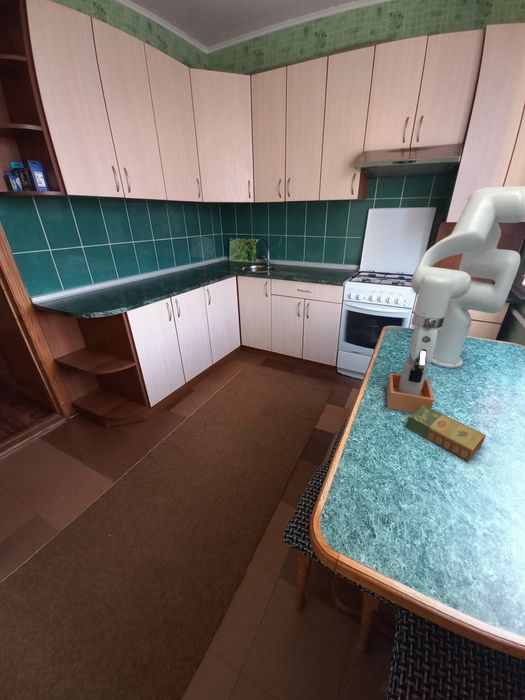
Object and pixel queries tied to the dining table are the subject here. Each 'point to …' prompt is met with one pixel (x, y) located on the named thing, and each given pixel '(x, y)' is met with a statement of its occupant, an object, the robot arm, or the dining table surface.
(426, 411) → the carton
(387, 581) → the dining table surface
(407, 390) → the beverage can
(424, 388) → the bin
